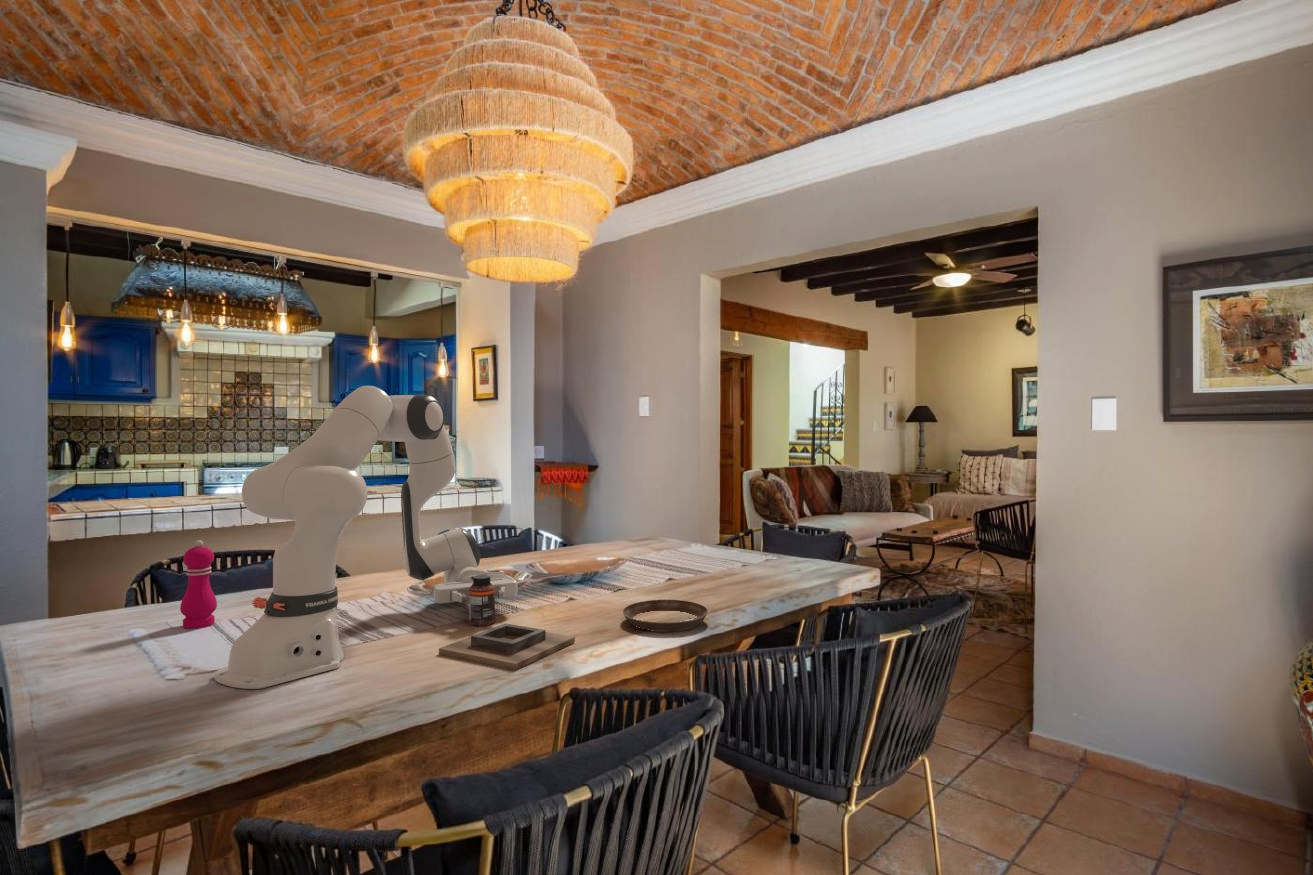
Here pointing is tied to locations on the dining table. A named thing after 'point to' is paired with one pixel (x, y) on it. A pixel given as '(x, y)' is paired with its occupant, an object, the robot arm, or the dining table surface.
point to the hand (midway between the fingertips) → (482, 596)
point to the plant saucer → (666, 606)
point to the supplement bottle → (481, 601)
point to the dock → (507, 646)
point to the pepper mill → (198, 588)
